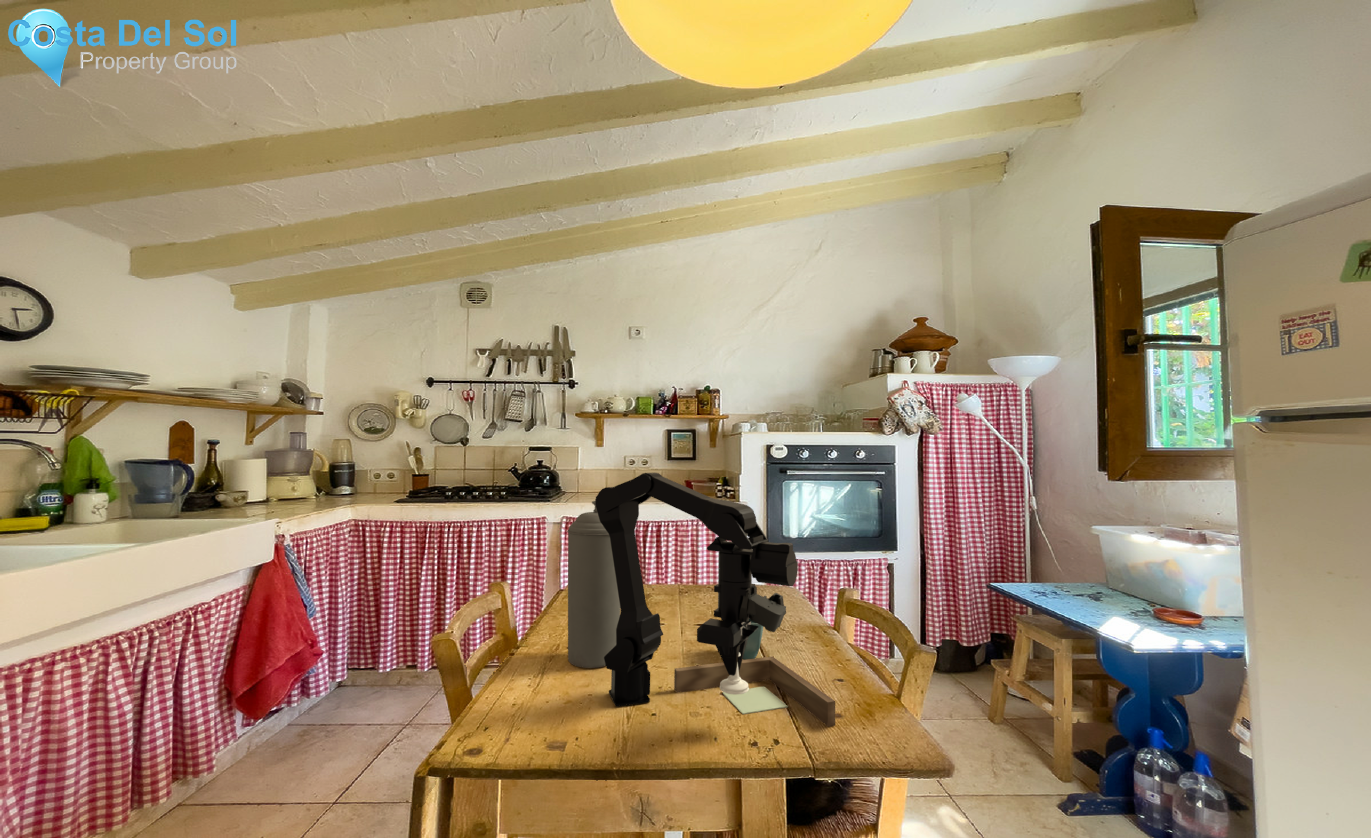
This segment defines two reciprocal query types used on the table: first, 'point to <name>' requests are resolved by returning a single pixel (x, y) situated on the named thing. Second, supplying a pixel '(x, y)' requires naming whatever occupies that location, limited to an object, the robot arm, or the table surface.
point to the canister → (591, 592)
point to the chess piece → (734, 684)
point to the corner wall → (756, 672)
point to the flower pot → (753, 642)
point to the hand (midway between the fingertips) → (734, 672)
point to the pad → (755, 700)
